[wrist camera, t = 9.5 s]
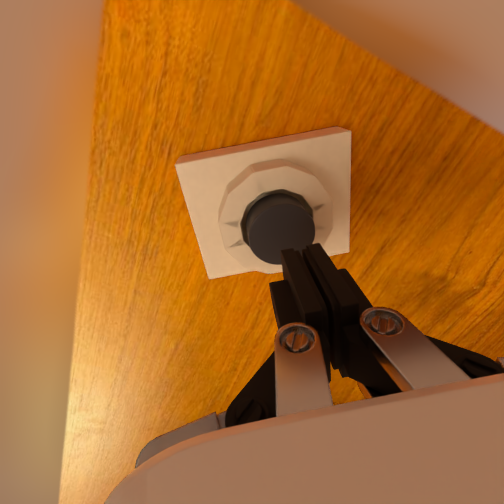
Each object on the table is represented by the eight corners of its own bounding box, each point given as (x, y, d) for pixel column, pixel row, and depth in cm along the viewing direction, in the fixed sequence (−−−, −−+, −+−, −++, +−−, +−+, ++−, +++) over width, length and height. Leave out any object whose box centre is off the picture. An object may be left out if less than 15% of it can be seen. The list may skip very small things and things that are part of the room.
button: (251, 254, 17) (254, 270, 16) (240, 199, 15) (242, 211, 14) (308, 243, 17) (317, 258, 16) (304, 187, 15) (314, 197, 14)
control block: (209, 263, 21) (208, 296, 18) (178, 156, 17) (169, 172, 14) (338, 238, 22) (360, 266, 18) (337, 125, 17) (366, 134, 14)
